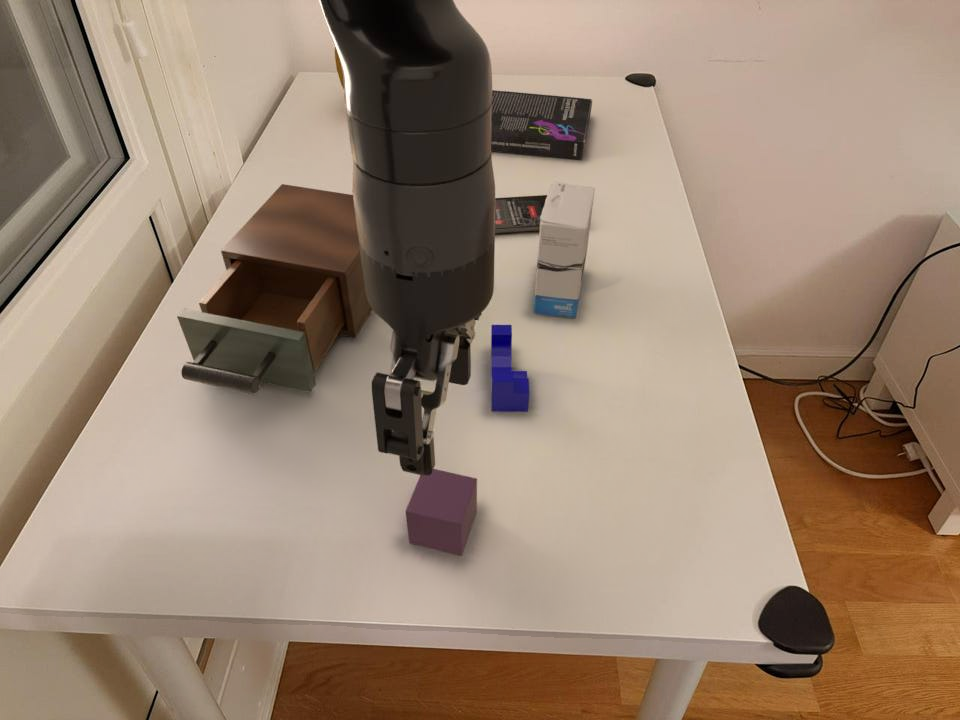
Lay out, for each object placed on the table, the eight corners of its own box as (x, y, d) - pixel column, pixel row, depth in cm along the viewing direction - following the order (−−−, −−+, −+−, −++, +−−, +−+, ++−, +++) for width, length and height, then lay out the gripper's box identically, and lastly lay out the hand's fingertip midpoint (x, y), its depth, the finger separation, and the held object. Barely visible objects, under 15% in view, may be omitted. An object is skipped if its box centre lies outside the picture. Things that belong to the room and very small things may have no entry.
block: (462, 556, 58) (461, 524, 55) (408, 543, 59) (404, 511, 56) (477, 510, 61) (477, 478, 58) (426, 498, 62) (423, 466, 59)
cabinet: (355, 338, 77) (345, 272, 71) (239, 315, 79) (220, 250, 73) (399, 264, 86) (394, 200, 80) (295, 246, 89) (281, 183, 83)
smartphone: (584, 223, 91) (465, 231, 90) (583, 228, 91) (465, 236, 90) (572, 193, 96) (459, 200, 95) (571, 198, 97) (459, 204, 95)
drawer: (288, 429, 66) (274, 377, 62) (168, 402, 69) (146, 350, 64) (360, 312, 78) (353, 260, 74) (256, 292, 81) (243, 241, 76)
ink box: (577, 320, 79) (588, 228, 71) (531, 314, 79) (538, 222, 71) (584, 274, 85) (596, 184, 77) (542, 268, 85) (549, 179, 77)
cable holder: (528, 411, 69) (530, 382, 66) (491, 411, 69) (492, 382, 66) (524, 354, 75) (526, 324, 72) (490, 353, 75) (491, 324, 72)
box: (451, 151, 107) (583, 161, 104) (449, 128, 104) (585, 139, 101) (470, 108, 117) (592, 117, 114) (469, 87, 114) (594, 95, 111)
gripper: (405, 156, 45) (419, 346, 57) (307, 293, 35) (348, 491, 47) (522, 172, 44) (513, 364, 55) (454, 320, 34) (460, 517, 45)
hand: (437, 422), depth 51 cm, fingers open, 8 cm apart
